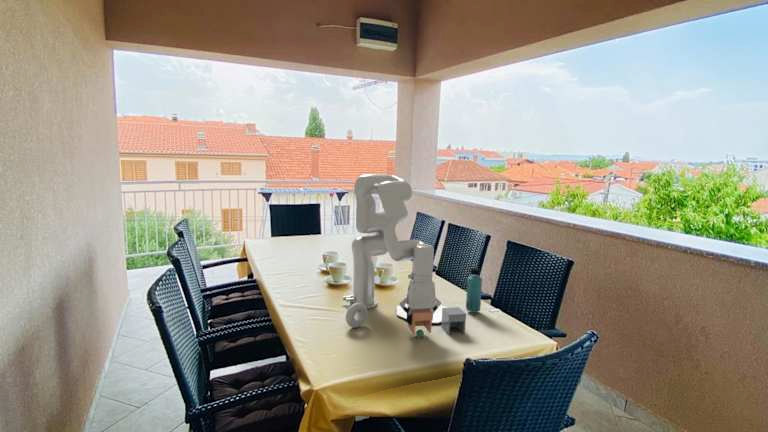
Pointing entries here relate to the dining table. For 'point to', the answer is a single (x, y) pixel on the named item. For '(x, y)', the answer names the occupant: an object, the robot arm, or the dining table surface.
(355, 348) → the dining table surface
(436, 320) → the plate
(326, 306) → the dining table surface
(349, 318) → the donut
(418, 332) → the marble
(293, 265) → the dining table surface
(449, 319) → the open-front grey box
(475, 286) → the beverage bottle
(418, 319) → the pink open box
